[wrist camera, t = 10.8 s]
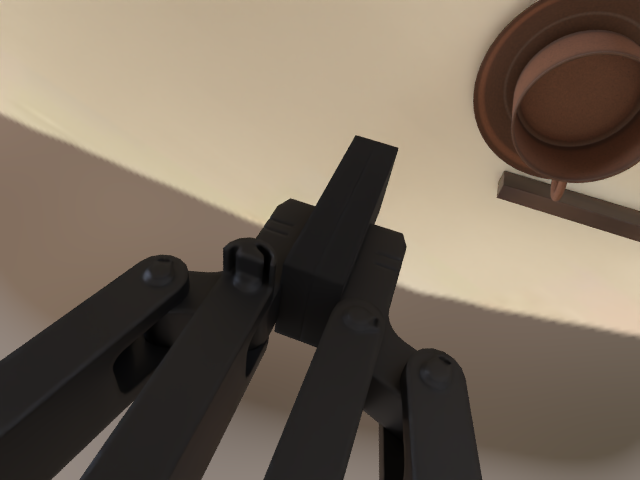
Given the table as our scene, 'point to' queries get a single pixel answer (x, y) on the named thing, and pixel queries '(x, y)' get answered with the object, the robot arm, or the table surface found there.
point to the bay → (570, 206)
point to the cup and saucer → (564, 91)
